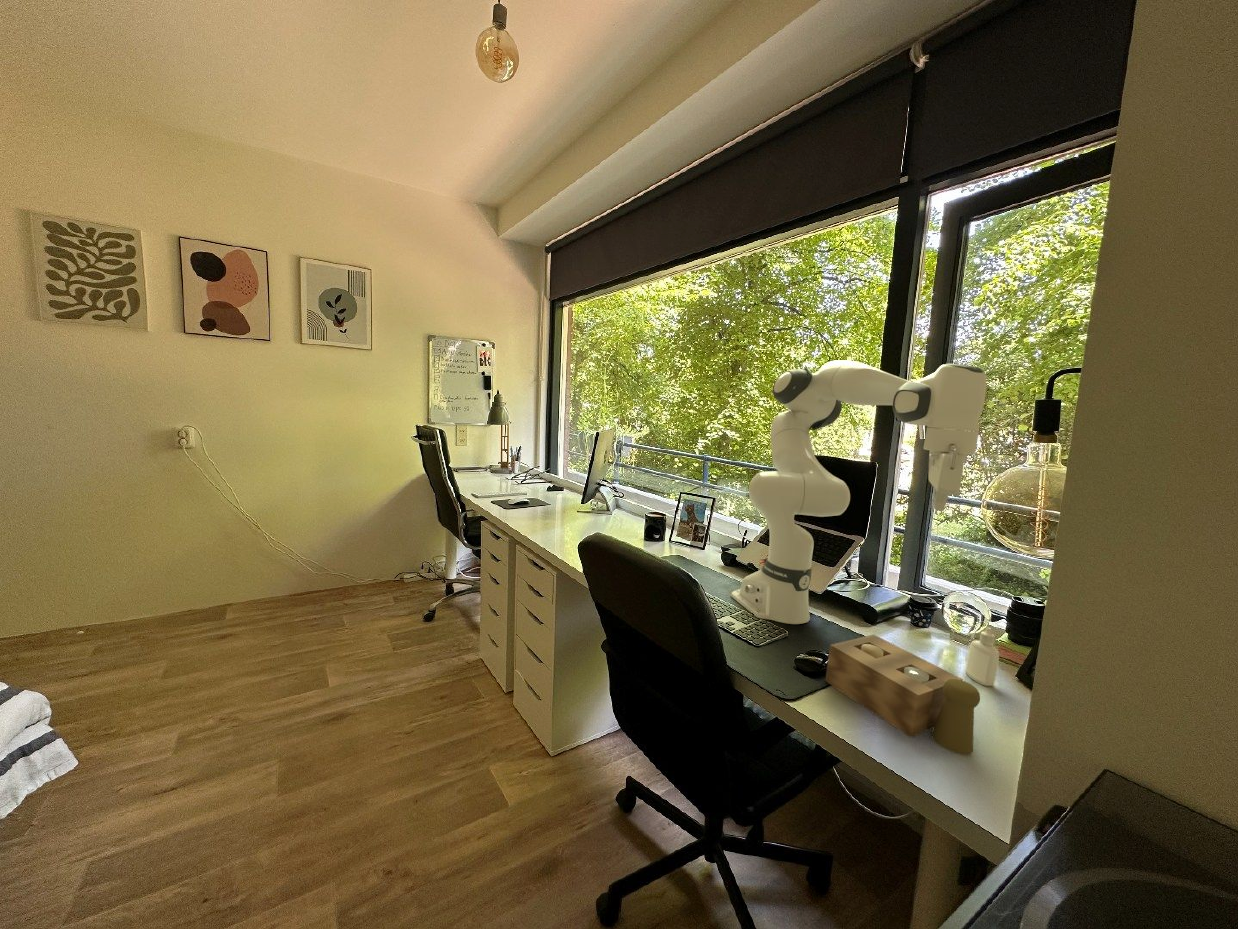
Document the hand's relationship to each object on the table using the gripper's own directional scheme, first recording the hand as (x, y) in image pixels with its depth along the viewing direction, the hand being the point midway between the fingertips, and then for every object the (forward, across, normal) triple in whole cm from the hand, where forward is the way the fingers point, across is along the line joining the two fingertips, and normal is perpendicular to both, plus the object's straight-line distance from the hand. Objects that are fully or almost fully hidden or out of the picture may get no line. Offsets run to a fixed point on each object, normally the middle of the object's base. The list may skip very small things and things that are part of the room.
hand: (938, 509), depth 100 cm
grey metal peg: (+37, -16, +1) cm, 40 cm away
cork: (+37, -22, -6) cm, 44 cm away
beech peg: (+37, -11, +8) cm, 39 cm away
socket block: (+37, -14, +4) cm, 40 cm away
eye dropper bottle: (+37, +8, -14) cm, 40 cm away
